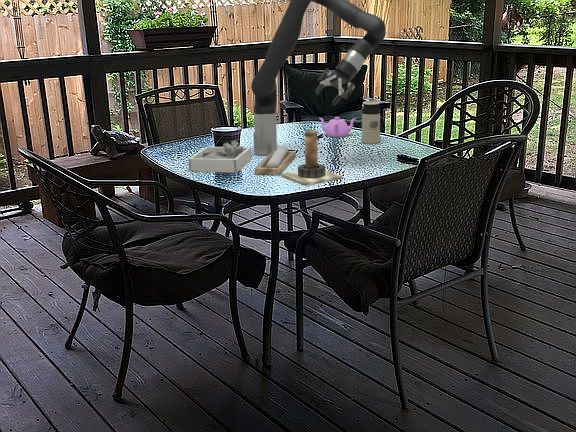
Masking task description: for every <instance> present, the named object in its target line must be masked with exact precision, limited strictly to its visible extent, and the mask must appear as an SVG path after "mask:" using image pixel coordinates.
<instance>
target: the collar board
mask: <svg viewBox="0 0 576 432" xmlns="http://www.w3.org/2000/svg"><path fill="white" fill-rule="evenodd" d="M280 177H281V178H285V179H287V180H289V181H292V182H294V183H298V184H301V185H302V186H312V185H318V184H321V183H327V182H332V181H335V180H336V181H337V179H338V180H343V175H342V174H338V173H335V172H332V171H329V170H326V166H325V165H324V164H321V163H318V168H315V169H306V166H305V163H303V164H300V165H298V166H297V170H295V171H291V172H285V173H284V172H283V173H282V174H281V175H280Z"/></svg>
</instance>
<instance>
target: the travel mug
mask: <svg viewBox="0 0 576 432" xmlns="http://www.w3.org/2000/svg"><path fill="white" fill-rule="evenodd" d="M380 103H381V102H380V101H376V100H372V101H371V100H367V101H363V102H362V104H363V105H362V106H363V107H362V109H361V143H363V144H365V145H375V144H379V143H380V142H381V141H380V140H381V132H380V131H381V108H380V107H379V106H380Z"/></svg>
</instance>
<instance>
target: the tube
mask: <svg viewBox="0 0 576 432" xmlns="http://www.w3.org/2000/svg"><path fill="white" fill-rule="evenodd" d="M288 151H289V150H288V148H287V147H285V146H284V145H283V146H282V145H281V146H280V145H279V146H278V145H277V149H276V150H275V153H274V154H273V156H272V157H271V158H270V160H269V161H268V163H267V164H266V168H277V167H278V166H279V165H280V164H281V163H282V161H283V160H284V159H285V158H286V156H287V155H288Z"/></svg>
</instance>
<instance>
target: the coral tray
mask: <svg viewBox="0 0 576 432" xmlns="http://www.w3.org/2000/svg"><path fill="white" fill-rule="evenodd" d="M242 147H243V151H242V152H240V153H238V157H236V158H235V159H201V157H203V152H204V151H206V150H215V149H219V150H220V151H222V153H225V154H226V152H225V148H224V147H223V146H205V147H204V148H202V149H200V150H199V151H197V152H196V153H195V154H193V155H192V156H190V157H188V158H187V159H188V161H187V162H188V163H187V164H188V172H189V171H197V172H196V173H226V174H227V173H233V174H237V173H238V172H240V170H242V169H243V168H244V167H245V166H246V165H247V164H248V163H249V162H250V161H251V160H252V147H244V146H242Z"/></svg>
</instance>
